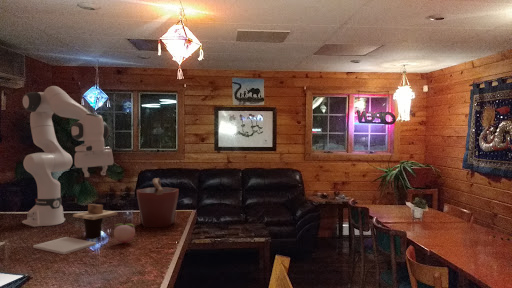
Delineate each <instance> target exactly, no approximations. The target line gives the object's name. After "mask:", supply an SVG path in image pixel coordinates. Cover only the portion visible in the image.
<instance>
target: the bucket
mask: <svg viewBox="0 0 512 288" xmlns="http://www.w3.org/2000/svg"><path fill="white" fill-rule="evenodd" d="M152 184H153V186H154V187H145V188H139V189H136V198H137V204H138V209H139V214H140V219H141V223H142V226H143V227H148V228H162V227H168V225H170V226H172V224H173V223H174V221H175V215H176V209H177V205H178V199H179V194H180V193H179V190H180V189H179V188H175V187H174V188H173V187H162V182H161V178H159V177H157V178H156V177H155V178H153V179H152Z"/></svg>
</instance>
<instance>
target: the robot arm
mask: <svg viewBox="0 0 512 288" xmlns="http://www.w3.org/2000/svg"><path fill="white" fill-rule="evenodd" d="M21 102H22V106H23V108H24V109H25V111H27V112H31V113H30V115H29V123H30V124H29V125H30V131H31V136H32V140H33V144H34V145H36V146H37V147H38V148H40V149H42V151H44V152H35V153H34V152H33V153H30V154H27V155H25V157H24V159H23V168H24V170H25V171H26V172H28V173H29V174H30V175H32V177H33V178H34V180H35V183H36V186H37V198H35V199H34V202H35V205H34V206H32V208H31V209H30V210H28V212H27V216H26V217H27V219H24V220H21V221H22V222H21V223H22V224H25V225H27V226H30V227H43V226H44V227H46V226H56V225H60V224H62V223H64V222H65V221H66V218H65V217H64V208H63V207H64V206H63V205H62V196H61V195H62V193H61V183H60V181H59V180H57V179H55V178H54V177H53V176H52V173H57V172H63V171H66V170H69V169H71V167H72V166H73V157H72V155H71V154H70V153H68V152H67V151H66V150H65V149H63V147H62V146H61V145H60V144H59V142H58V139H57V136H56V133H55V127H54V122H53V120H52V119H53V118H52V117H53V115H54V116H59V117H62V118H68V119H74V120H78V121H75V122H73V124H72V125H71V127H70V135H71V137H72V138H73V139H74V140H75V141H80V142H81V141H82V142H84V143H82V144H80V145H78V146H76V147H74V151H75V153H74V166H75V168H76V169H78V168H79V169H81V171H82V172H83V173H84V178H89V177H90V174H91V173H89V171H88V168H92V167H93V168H95V167H102V170H101V171H100V175H101V176H105V175H106V174H107V172H106V171H107V169H108V167H109V166H113V165H114V156H113V150H112V148H111V147H110V146H105V140H107V138H108V137H109V135H110V127H109V125H108V124H107V123H106V121H104V119H103V116H102V115H101V114H99V113H92V112H91V111H90V110H89V109H87V108H86V107H84V106H83V105H81V104H80V103H78V102H77V101H76V100H74V99H73V98H72V97H70V95H69V94H67V92H66V91H65V90H63V89H62V88H60V87H59V86H56V85H51V86H48V87H47V88H45V89H44V91H43V92H42V91H39V92H36V91H28V92H26V93H25V94H24V95H23V96H22V101H21Z"/></svg>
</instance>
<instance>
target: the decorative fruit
mask: <svg viewBox="0 0 512 288" xmlns="http://www.w3.org/2000/svg"><path fill="white" fill-rule="evenodd" d="M113 228H114V230H113V236H114V238H115V240H116V241H118V242H119V243H122V244H126V243H129V242H130V241H132V240H133V239H134V237H135V236H136V230H135V228H136V226H135V224H133V223H126V222H125V221H124V222H123V223H117V224H115V225H114V226H113Z"/></svg>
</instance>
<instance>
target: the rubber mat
mask: <svg viewBox="0 0 512 288" xmlns="http://www.w3.org/2000/svg"><path fill="white" fill-rule="evenodd" d="M96 245H97V242H96V241H91V240H90V241H89V240H84V239H80V238H79V239H78V238H73V237H69V236H64V237H59V238H55V239H52V240H48V241H45V242H41V243H37V244H33V245H32V247H33V249H37V250H41V251H46V252H52V253H55V254H60V255H66V254H67V255H68V254H69V253H73V252H76V251H80V250H83V249H86V248H90V247H93V246H96Z"/></svg>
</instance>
